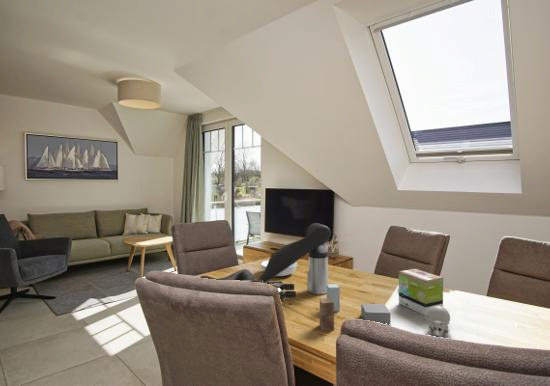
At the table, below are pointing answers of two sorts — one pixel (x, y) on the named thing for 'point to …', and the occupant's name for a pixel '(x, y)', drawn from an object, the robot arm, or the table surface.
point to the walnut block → (326, 314)
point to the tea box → (420, 290)
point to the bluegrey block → (334, 295)
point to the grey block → (375, 313)
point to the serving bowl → (284, 272)
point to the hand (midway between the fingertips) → (294, 290)
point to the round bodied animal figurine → (439, 320)
